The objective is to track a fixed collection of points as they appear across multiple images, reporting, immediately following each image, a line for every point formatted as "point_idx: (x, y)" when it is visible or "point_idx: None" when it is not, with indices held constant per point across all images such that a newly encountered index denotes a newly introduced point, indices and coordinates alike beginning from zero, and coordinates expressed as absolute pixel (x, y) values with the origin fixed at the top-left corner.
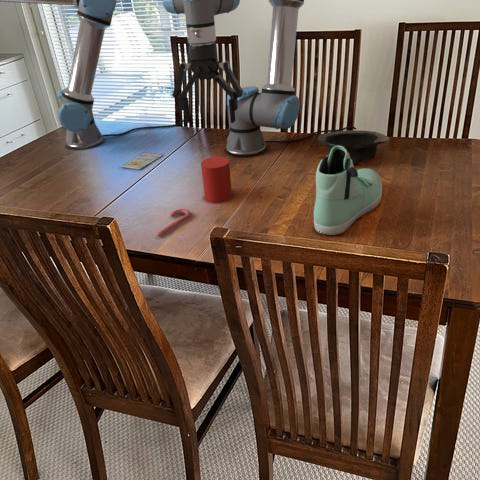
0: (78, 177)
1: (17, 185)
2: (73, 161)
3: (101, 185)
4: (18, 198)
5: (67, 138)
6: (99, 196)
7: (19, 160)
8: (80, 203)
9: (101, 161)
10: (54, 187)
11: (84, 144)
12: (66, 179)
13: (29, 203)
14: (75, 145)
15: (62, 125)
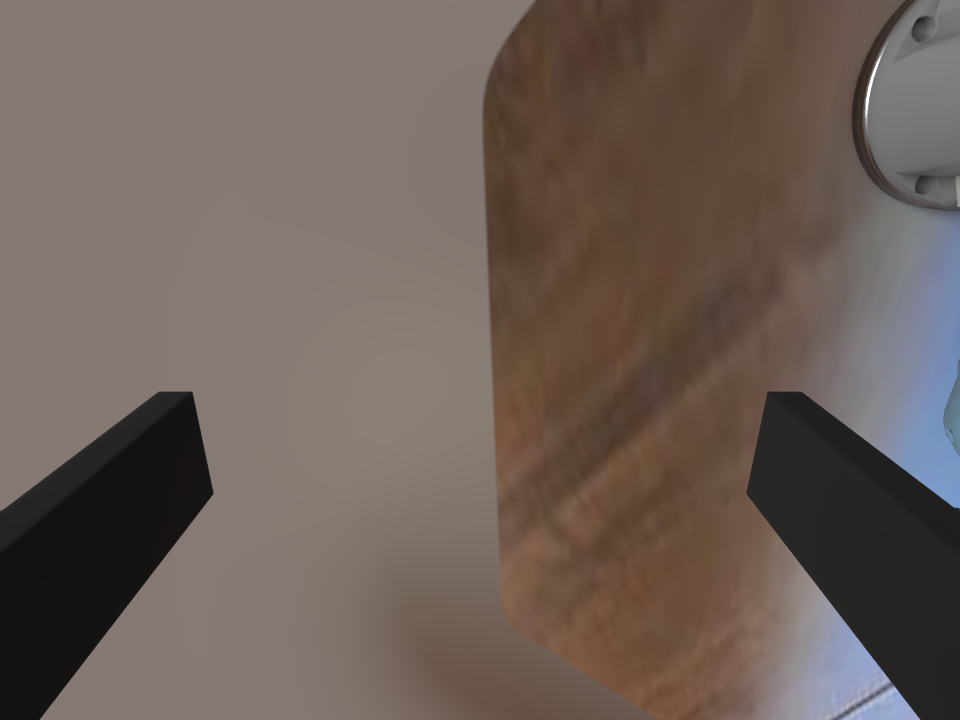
0: (773, 540)
1: (546, 504)
2: (808, 360)
3: (820, 635)
4: (547, 608)
5: (903, 124)
6: (785, 698)
7: (564, 190)
8: (721, 713)
9: (914, 426)
10: (673, 582)
11: (946, 209)
12: (728, 537)
13: (579, 654)
14: (898, 191)
15: (949, 430)
